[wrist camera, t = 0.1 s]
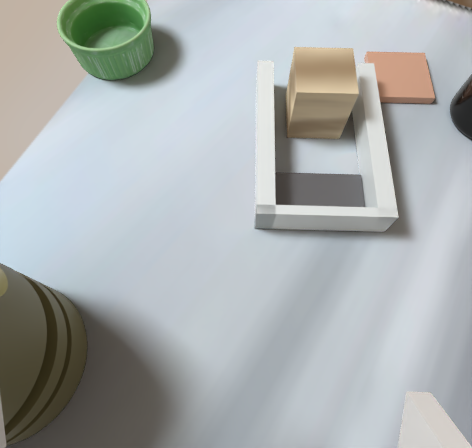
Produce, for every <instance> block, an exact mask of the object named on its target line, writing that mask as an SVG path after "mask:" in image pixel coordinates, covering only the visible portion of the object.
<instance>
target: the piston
mask: <svg viewBox="0 0 472 448" xmlns="http://www.w3.org/2000/svg"><path fill="white" fill-rule="evenodd" d="M86 357H87V336H86V330H85V326H84V323H83V320H82V318H81V316H80V314H79V312H78V310H77V309H76V308H75V306H74V305H73V304H72V303H71V301H70V300H69V299H67V298H66V297H65V296H64V295H62V294H61V293H59V292H58V291H56V290H54V289H52V288H50V287H48V286H46V285H44V284H42V283H40V282H37V281H35V280H33V279H31V278H29V277H27V276H25V275H23V274H21V273H19V272H17V271H15V270H13V269H11V268H9V267H7V266H5V265H3V264H1V263H0V395H1V404H2V412H3V420H4V428H5V437H6V445H11V444H14V443H17V442H20V441H22V440H24V439H27V438H29V437H30V436H32V435H34V434H36V433H37V432H39V431H40V430H42V429H43V428H44V427H46V426H47V425H48V424H49V423H50V422H52V421H53V420H54V419H55V418H56V417H57V416H58V415H59V414H60V412H61V411H62V410H63V409H64V408H65V406H66V405H67V404H68V402H69V401H70V399H71V398H72V396H73V394H74V393H75V391H76V389H77V387H78V385H79V382H80V380H81V377H82V374H83V371H84V368H85V363H86Z"/></svg>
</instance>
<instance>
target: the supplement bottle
mask: <svg viewBox="0 0 472 448" xmlns="http://www.w3.org/2000/svg"><path fill="white" fill-rule="evenodd" d="M450 114H451V118H452V120H453V122H454V124H455V125H456V127H457V128H458V129H459V130H460V131H461V132H462V133H463V134H464V135H466V136H467V137H469V138H471V139H472V74H471V76H470V77H469V78H468V79H467V81H466V82H465V83H464V84H463V86H462V87H461V88H460V90H459V91H458V92H457V93H456V95H455V96H454V98H453V99H452V102H451V105H450Z"/></svg>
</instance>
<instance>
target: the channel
mask: <svg viewBox="0 0 472 448" xmlns="http://www.w3.org/2000/svg"><path fill="white" fill-rule="evenodd" d="M356 76H357V83H358V91H359V95H358V97H357V99H356V102H355V104H354V106H353V109H352V116H353V124H354V132H355V141H356V149H357V157H358V166H359V174H360V175H352V174H313V173H275V129H274V61H258V64H257V79H256V141H255V228H262V229H298V230H334V231H370V232H385V231H386V230H387V229H388V228H389V227H390V226H391V225H392V224H393V223H394V222H395V221H396V220H397V219H398V218H399V216H398V210H397V204H396V198H395V191H394V185H393V179H392V173H391V166H390V160H389V154H388V148H387V141H386V135H385V129H384V123H383V116H382V110H381V104H380V98H379V91H378V85H377V79H376V73H375V66H374V63H358V64H357V67H356Z"/></svg>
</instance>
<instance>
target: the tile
mask: <svg viewBox="0 0 472 448" xmlns="http://www.w3.org/2000/svg"><path fill="white" fill-rule="evenodd" d="M364 59H365V63H374V66H375V73H376V79H377V85H378V91H379V98H380V102H381V103H423V104H431V103H432V102H433V100H434V99H435V95H434V91H433V86H432V82H431V78H430V74H429V69H428V65H427V61H426V57H425V53H402V52H367V53H366V55H365V58H364Z"/></svg>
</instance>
